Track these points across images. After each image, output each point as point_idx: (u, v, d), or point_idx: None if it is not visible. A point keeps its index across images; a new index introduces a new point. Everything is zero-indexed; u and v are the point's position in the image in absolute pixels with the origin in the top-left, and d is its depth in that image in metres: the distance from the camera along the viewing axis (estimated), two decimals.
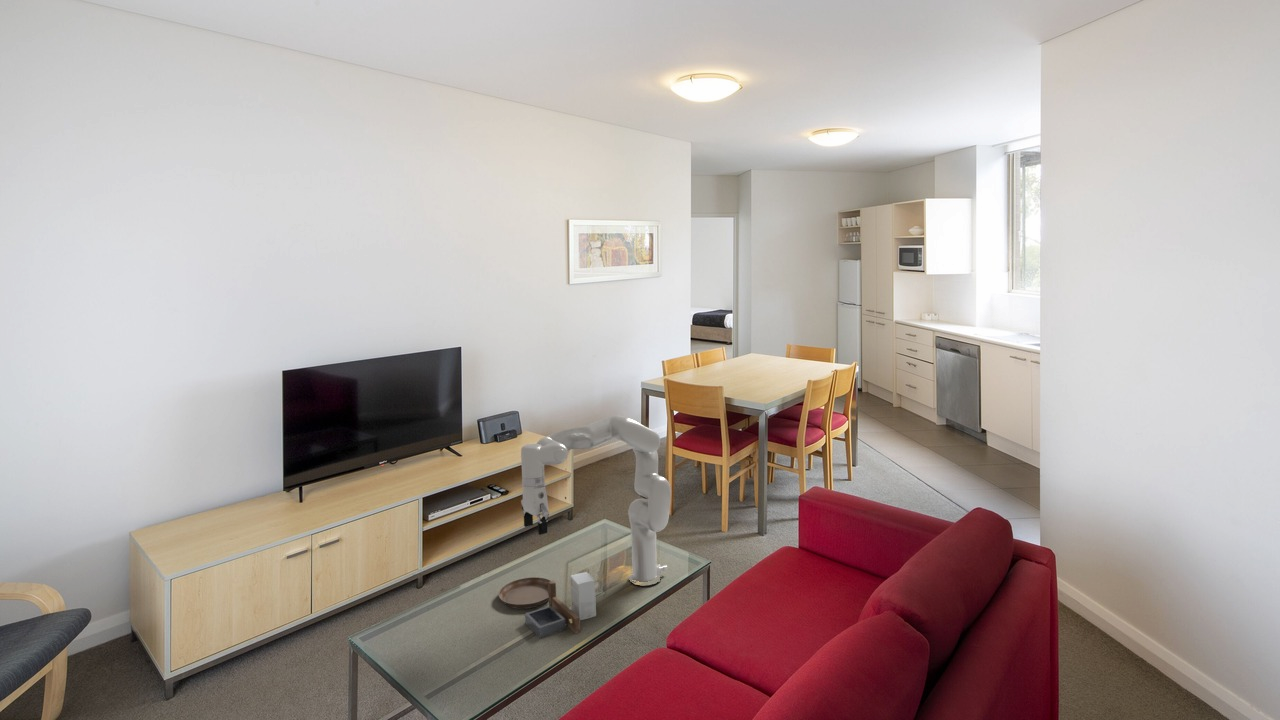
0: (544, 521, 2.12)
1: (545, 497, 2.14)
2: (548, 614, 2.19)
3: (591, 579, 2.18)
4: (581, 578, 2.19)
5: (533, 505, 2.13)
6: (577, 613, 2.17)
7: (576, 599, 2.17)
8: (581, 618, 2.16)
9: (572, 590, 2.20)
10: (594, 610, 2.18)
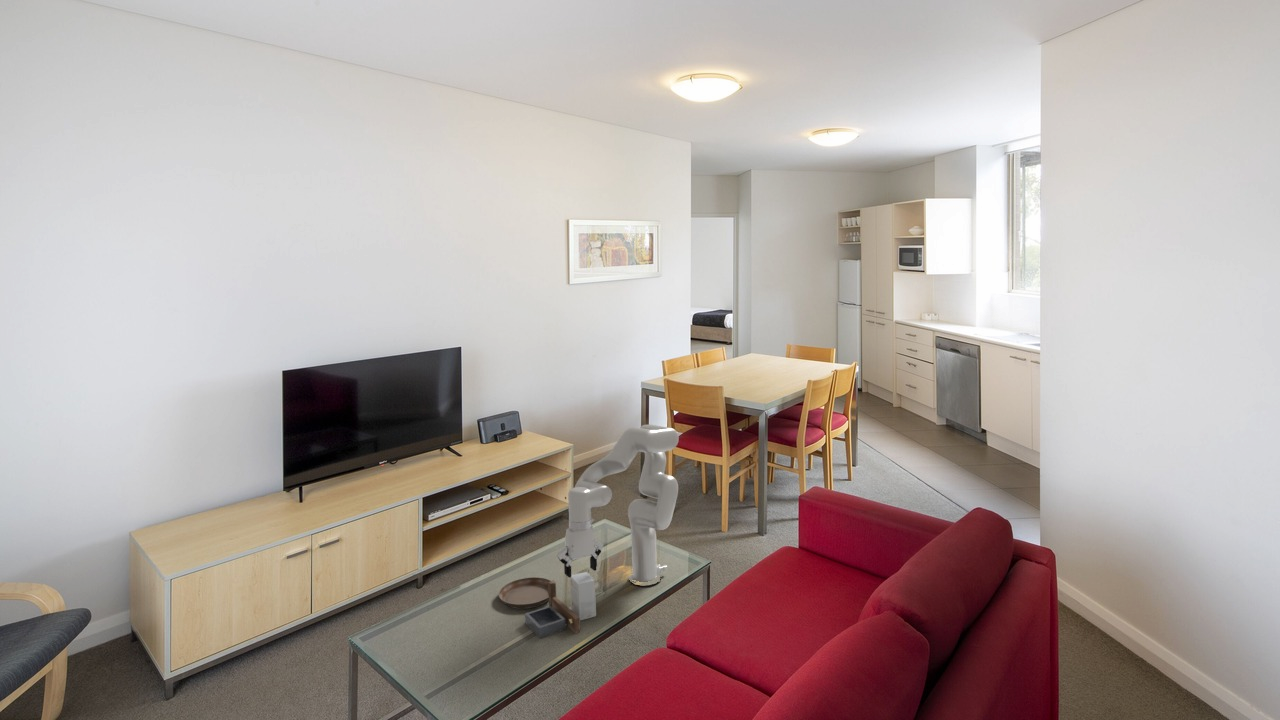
0: None
1: None
2: (548, 614, 2.19)
3: (591, 579, 2.18)
4: (581, 578, 2.19)
5: (592, 544, 2.18)
6: (577, 613, 2.17)
7: (576, 599, 2.17)
8: (581, 618, 2.16)
9: (572, 590, 2.20)
10: (594, 610, 2.18)
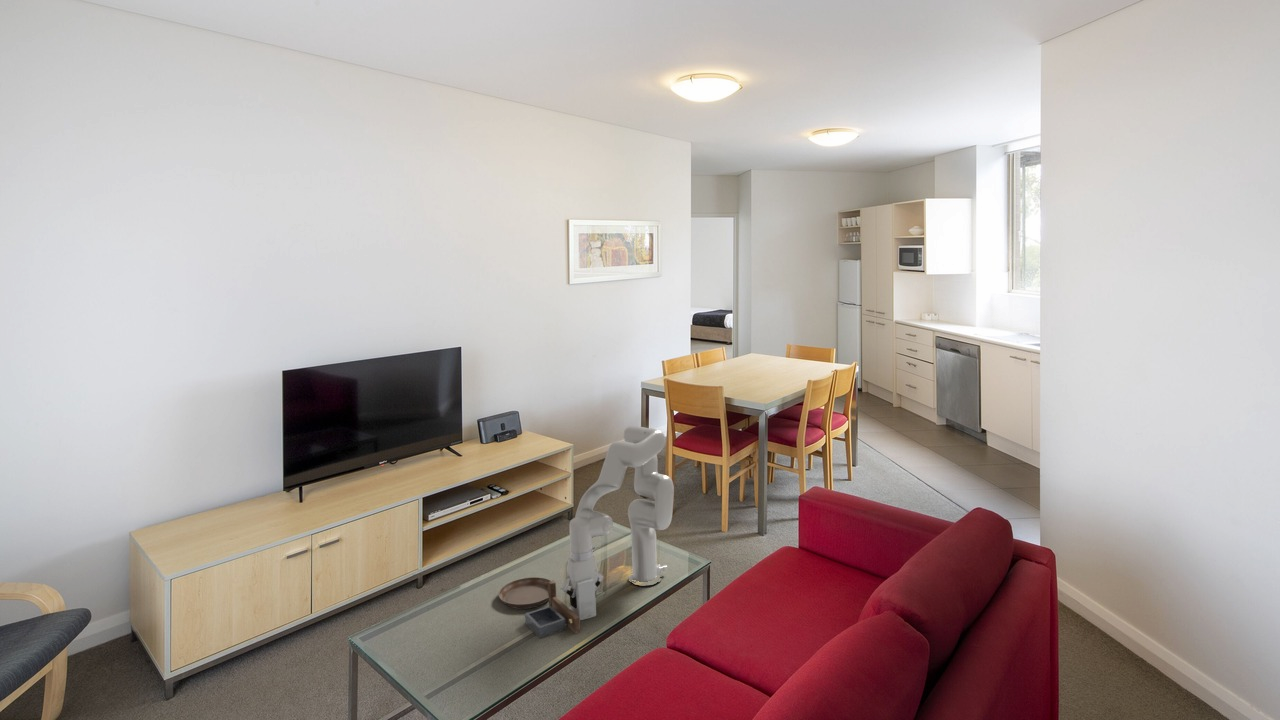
0: None
1: None
2: (548, 614, 2.19)
3: (591, 579, 2.18)
4: None
5: (593, 574, 2.19)
6: (577, 613, 2.17)
7: None
8: (581, 618, 2.16)
9: None
10: (594, 610, 2.18)
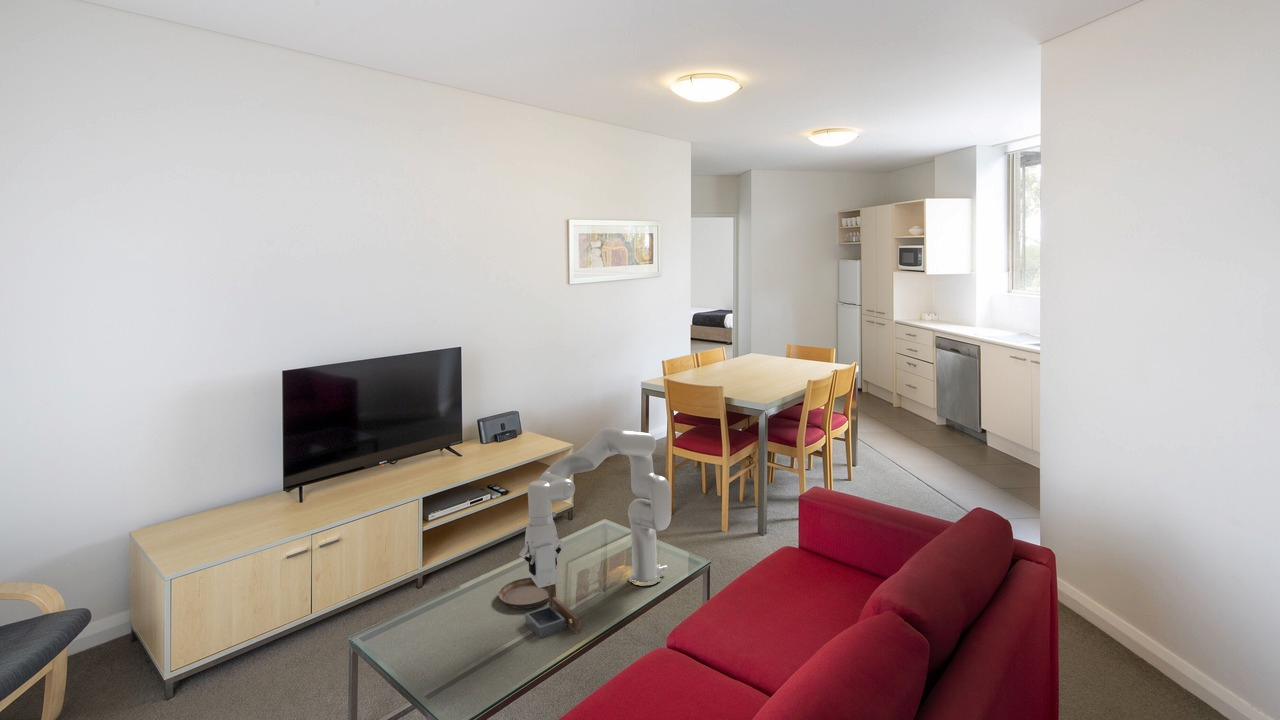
0: None
1: None
2: (548, 614, 2.19)
3: (551, 545, 2.09)
4: None
5: (553, 539, 2.10)
6: (536, 580, 2.08)
7: (535, 566, 2.08)
8: (540, 585, 2.07)
9: None
10: (554, 577, 2.09)
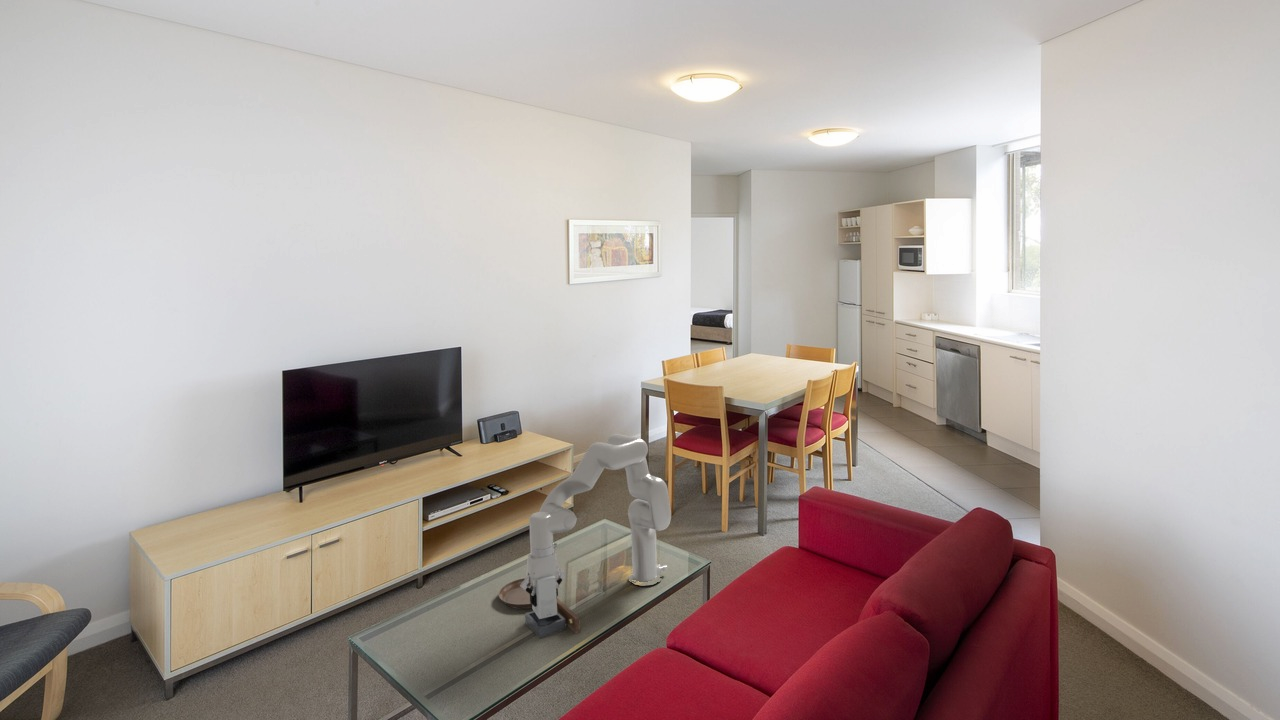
0: None
1: None
2: None
3: (552, 576, 2.10)
4: None
5: (555, 570, 2.11)
6: (537, 611, 2.09)
7: None
8: (541, 617, 2.08)
9: None
10: (555, 608, 2.10)
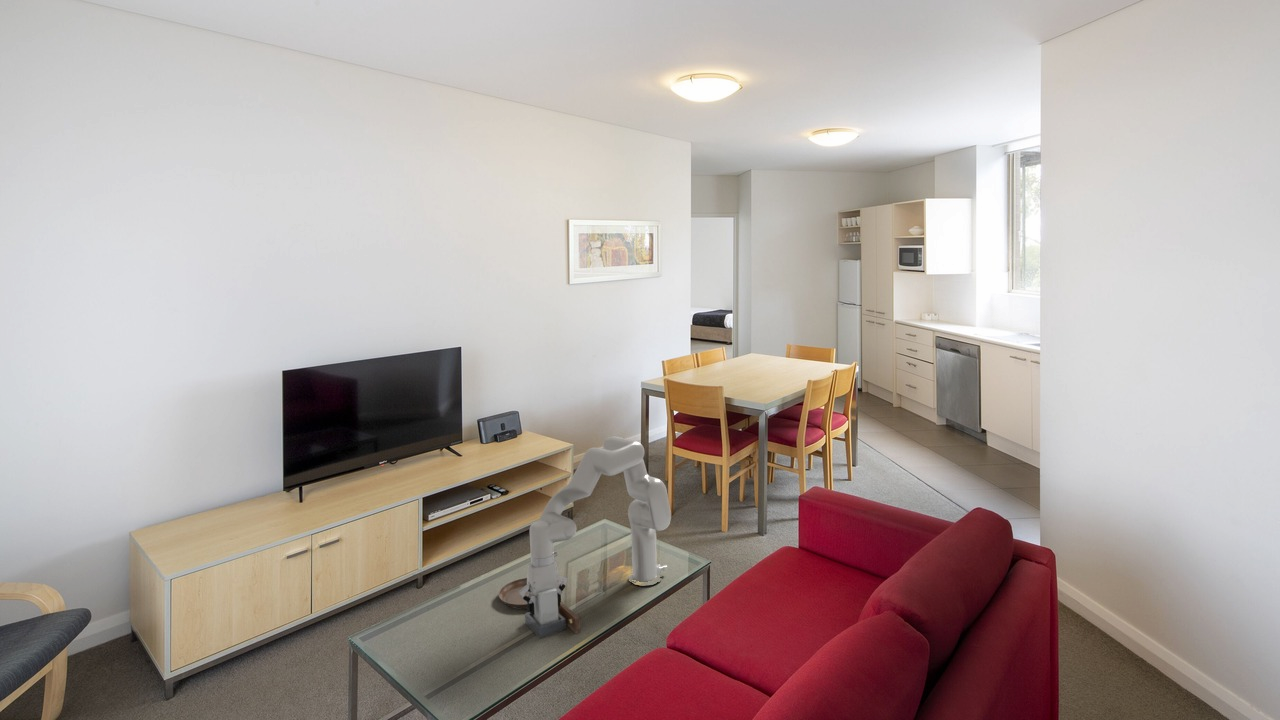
0: None
1: None
2: None
3: (553, 589, 2.10)
4: None
5: (555, 579, 2.11)
6: (539, 624, 2.10)
7: (538, 610, 2.09)
8: None
9: (534, 600, 2.13)
10: None
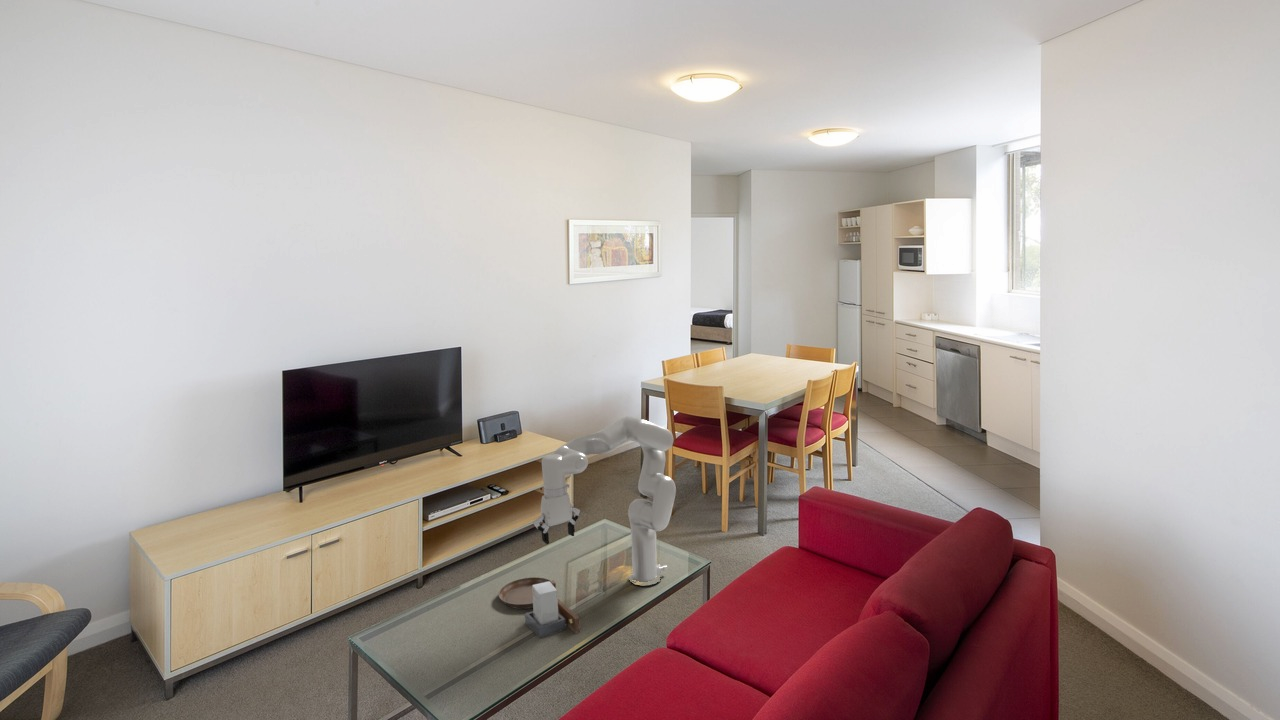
0: None
1: None
2: None
3: (553, 589, 2.10)
4: (543, 587, 2.12)
5: (568, 510, 2.18)
6: (539, 624, 2.10)
7: (538, 610, 2.09)
8: None
9: (534, 600, 2.13)
10: None
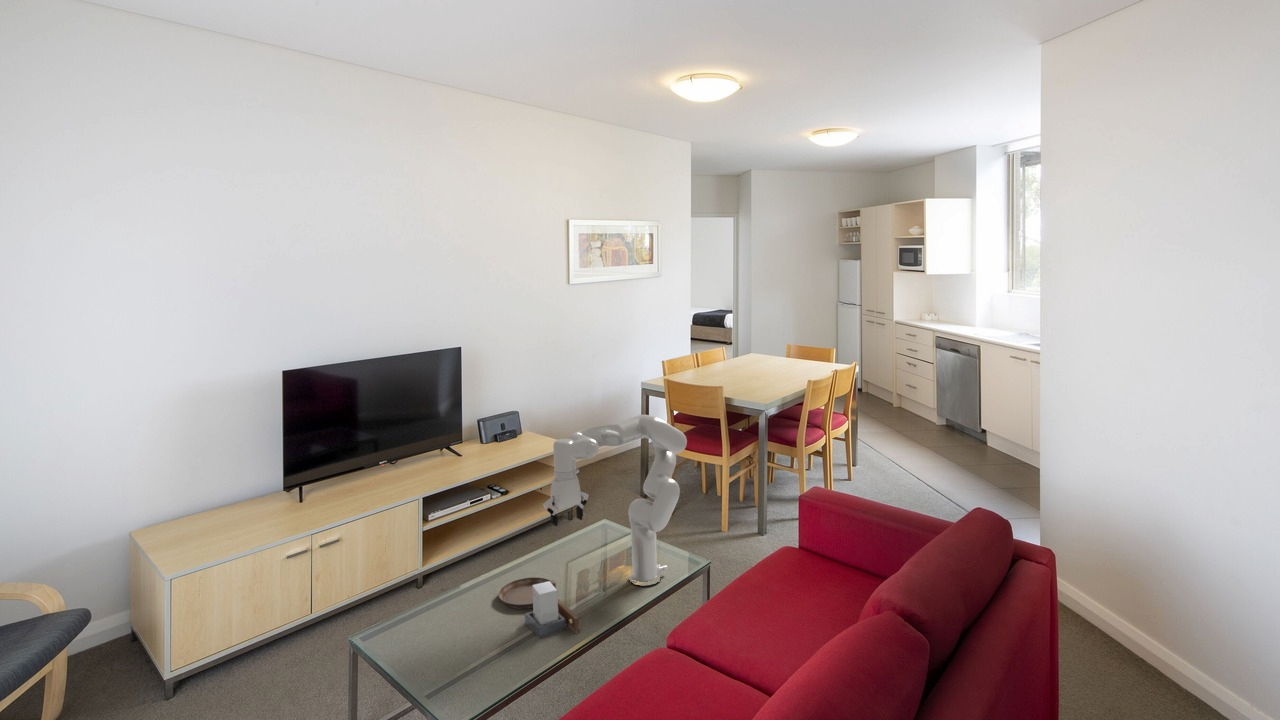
0: None
1: None
2: None
3: (553, 589, 2.10)
4: (543, 587, 2.12)
5: (577, 494, 2.24)
6: (539, 624, 2.10)
7: (538, 610, 2.09)
8: None
9: (534, 600, 2.13)
10: None
